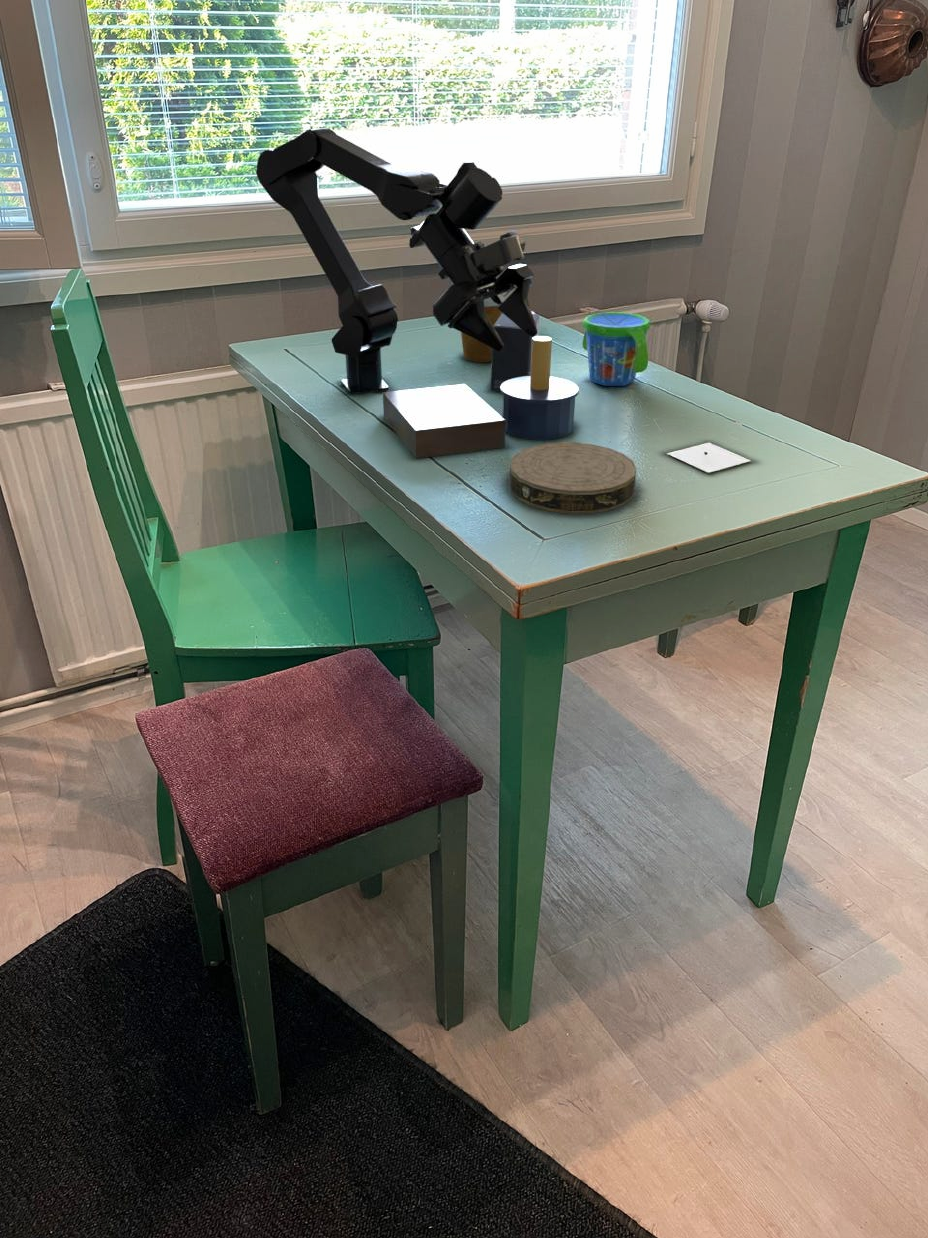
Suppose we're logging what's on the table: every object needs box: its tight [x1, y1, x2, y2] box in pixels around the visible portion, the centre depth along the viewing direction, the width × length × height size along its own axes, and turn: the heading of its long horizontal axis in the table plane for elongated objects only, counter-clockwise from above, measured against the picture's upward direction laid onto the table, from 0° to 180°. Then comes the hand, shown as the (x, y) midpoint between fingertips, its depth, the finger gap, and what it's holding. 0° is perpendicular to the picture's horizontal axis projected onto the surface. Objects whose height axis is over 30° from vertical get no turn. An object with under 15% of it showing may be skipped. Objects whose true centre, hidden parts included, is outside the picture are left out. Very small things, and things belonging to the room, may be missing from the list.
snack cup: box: [582, 311, 651, 387], centre depth 154 cm, size 16×10×10 cm
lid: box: [499, 335, 580, 404], centre depth 133 cm, size 11×11×8 cm
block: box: [382, 383, 506, 459], centre depth 135 cm, size 17×13×4 cm
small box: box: [489, 313, 540, 392], centre depth 153 cm, size 11×6×10 cm, turn 168°
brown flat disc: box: [508, 441, 637, 515], centre depth 119 cm, size 16×16×3 cm
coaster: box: [666, 442, 752, 473], centre depth 128 cm, size 8×8×1 cm
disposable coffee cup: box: [460, 298, 502, 363], centre depth 166 cm, size 10×10×12 cm
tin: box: [502, 395, 576, 441], centre depth 137 cm, size 10×10×6 cm
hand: (518, 342), depth 134 cm, fingers open, 9 cm apart
